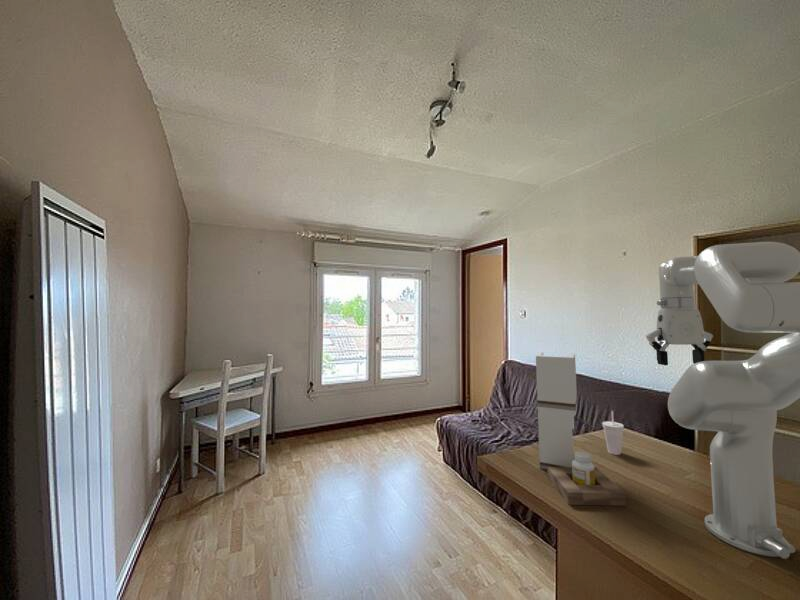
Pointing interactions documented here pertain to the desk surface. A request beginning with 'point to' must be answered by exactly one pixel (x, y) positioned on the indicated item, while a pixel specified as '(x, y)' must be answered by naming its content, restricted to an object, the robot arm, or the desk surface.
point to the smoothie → (613, 436)
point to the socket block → (586, 488)
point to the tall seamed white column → (556, 409)
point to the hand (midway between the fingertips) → (680, 364)
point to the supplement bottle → (583, 469)
